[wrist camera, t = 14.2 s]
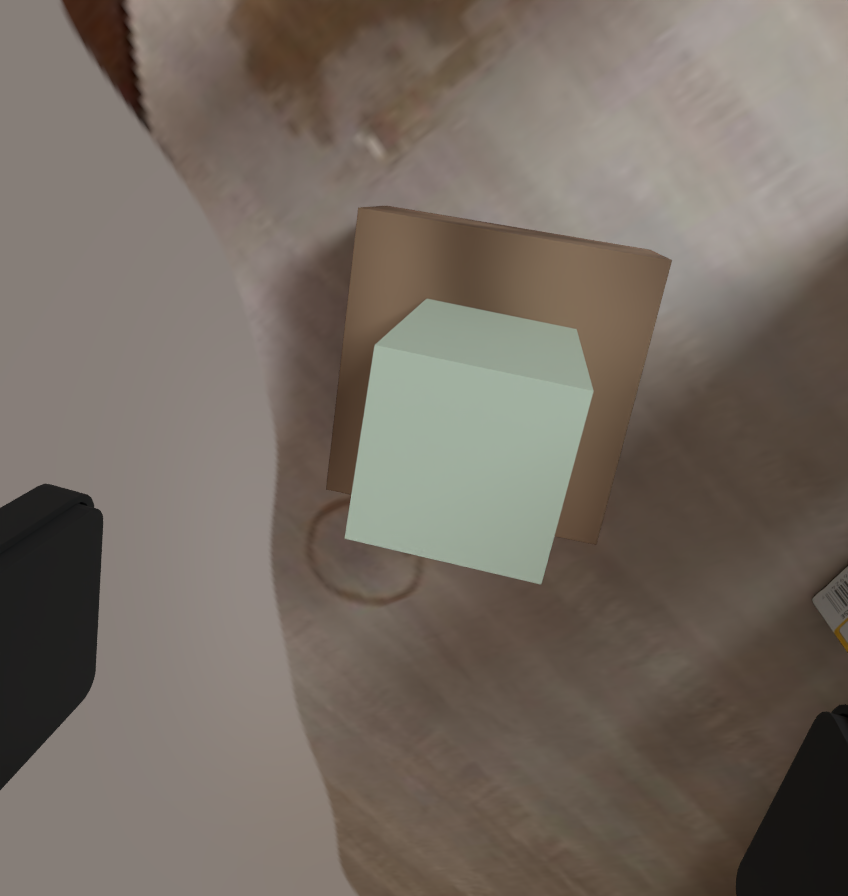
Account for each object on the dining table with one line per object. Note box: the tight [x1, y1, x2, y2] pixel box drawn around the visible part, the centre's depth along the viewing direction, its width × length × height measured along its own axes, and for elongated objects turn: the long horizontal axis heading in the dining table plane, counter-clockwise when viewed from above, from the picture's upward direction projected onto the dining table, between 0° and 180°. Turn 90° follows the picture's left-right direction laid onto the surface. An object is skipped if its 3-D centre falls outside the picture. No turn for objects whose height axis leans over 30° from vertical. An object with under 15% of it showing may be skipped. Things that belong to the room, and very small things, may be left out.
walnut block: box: [326, 206, 672, 545], centre depth 27 cm, size 10×10×5 cm
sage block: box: [345, 299, 593, 584], centre depth 21 cm, size 5×5×8 cm
